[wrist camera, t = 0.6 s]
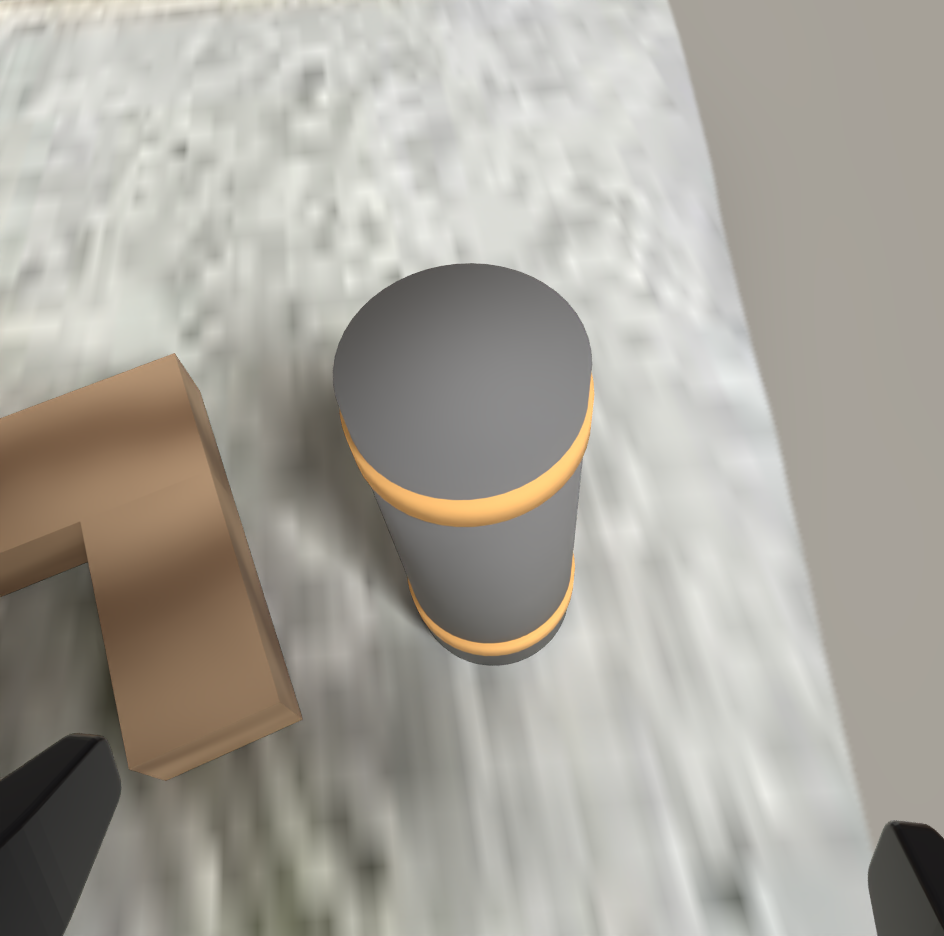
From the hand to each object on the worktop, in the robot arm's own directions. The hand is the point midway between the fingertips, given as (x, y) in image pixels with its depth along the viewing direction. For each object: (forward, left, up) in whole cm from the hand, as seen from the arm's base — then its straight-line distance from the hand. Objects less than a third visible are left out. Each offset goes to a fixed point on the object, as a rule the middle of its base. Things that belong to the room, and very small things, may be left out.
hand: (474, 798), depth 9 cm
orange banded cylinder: (+8, +2, -15) cm, 17 cm away
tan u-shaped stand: (+4, +18, -15) cm, 24 cm away
